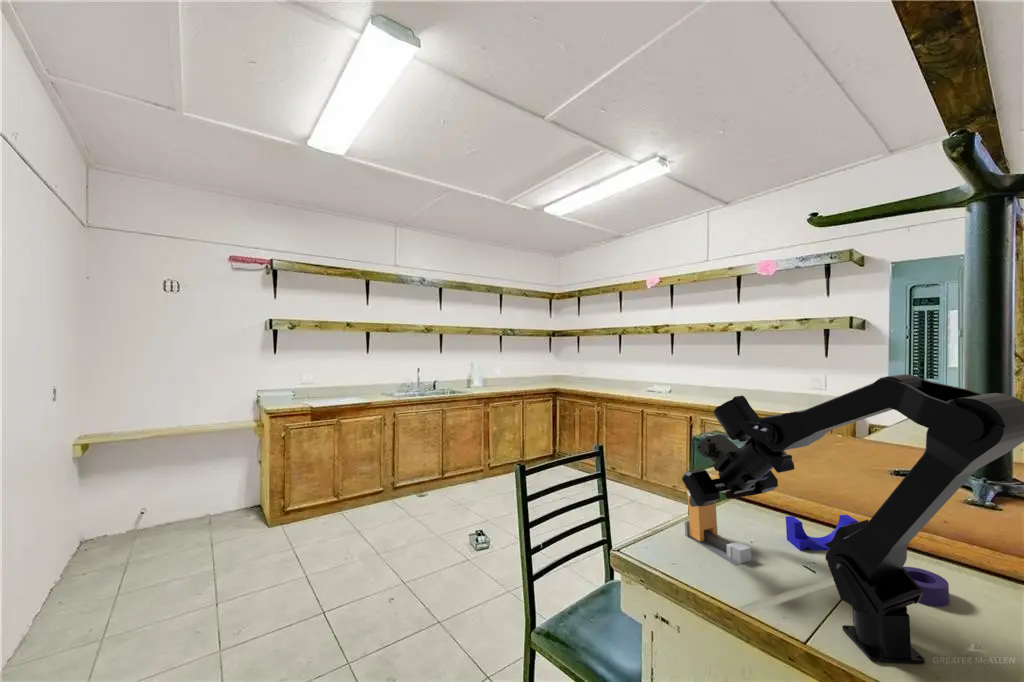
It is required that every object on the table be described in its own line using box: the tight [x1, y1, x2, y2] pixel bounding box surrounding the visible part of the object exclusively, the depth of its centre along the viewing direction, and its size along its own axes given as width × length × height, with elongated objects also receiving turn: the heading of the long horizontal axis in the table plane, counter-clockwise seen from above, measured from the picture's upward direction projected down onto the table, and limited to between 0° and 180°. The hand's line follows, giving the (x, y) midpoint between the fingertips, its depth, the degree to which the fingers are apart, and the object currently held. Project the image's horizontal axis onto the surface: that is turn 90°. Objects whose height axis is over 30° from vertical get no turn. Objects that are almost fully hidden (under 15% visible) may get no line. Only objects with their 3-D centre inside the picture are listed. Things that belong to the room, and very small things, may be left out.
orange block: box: [686, 488, 719, 541], centre depth 90 cm, size 3×5×11 cm
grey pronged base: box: [684, 519, 759, 567], centre depth 86 cm, size 14×5×4 cm, turn 19°
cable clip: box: [785, 514, 859, 552], centre depth 85 cm, size 12×4×6 cm, turn 86°
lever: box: [903, 566, 950, 608], centre depth 72 cm, size 12×6×3 cm, turn 46°
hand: (708, 500), depth 88 cm, fingers open, 9 cm apart
